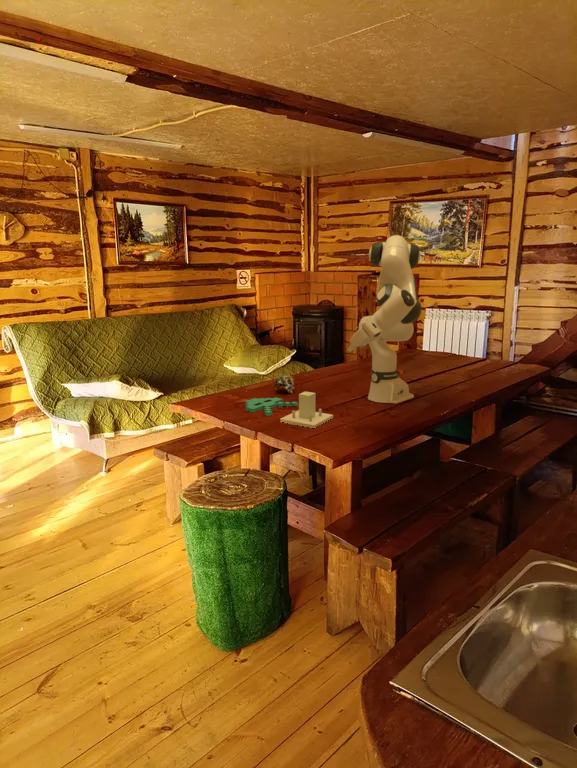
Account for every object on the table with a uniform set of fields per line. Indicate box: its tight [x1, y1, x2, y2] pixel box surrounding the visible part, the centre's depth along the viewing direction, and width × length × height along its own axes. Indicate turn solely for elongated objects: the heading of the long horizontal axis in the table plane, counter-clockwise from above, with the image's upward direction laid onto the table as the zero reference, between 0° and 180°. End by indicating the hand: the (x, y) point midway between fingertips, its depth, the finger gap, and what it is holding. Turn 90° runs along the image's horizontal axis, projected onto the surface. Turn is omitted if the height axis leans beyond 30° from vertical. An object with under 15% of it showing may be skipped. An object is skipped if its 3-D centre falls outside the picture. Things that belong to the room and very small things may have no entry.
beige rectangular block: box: [298, 390, 317, 419], centre depth 228 cm, size 5×5×10 cm
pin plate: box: [279, 408, 334, 429], centre depth 229 cm, size 16×16×4 cm
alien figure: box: [245, 396, 299, 417], centre depth 248 cm, size 20×2×20 cm
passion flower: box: [272, 372, 295, 394], centre depth 272 cm, size 11×11×12 cm
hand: (354, 348), depth 215 cm, fingers open, 8 cm apart
